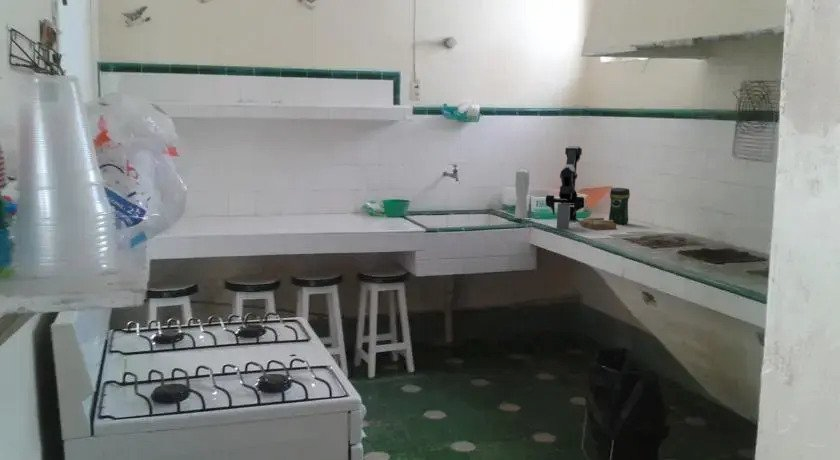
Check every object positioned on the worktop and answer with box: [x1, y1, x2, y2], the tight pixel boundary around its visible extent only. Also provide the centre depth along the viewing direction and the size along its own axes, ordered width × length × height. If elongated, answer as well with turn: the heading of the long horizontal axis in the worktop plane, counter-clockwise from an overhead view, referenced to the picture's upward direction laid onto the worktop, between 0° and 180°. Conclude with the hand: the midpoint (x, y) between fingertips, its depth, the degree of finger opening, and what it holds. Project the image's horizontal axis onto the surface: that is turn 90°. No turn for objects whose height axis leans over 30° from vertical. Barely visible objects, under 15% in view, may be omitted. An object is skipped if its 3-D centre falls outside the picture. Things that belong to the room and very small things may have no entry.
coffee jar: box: [608, 187, 631, 225], centre depth 396 cm, size 10×8×19 cm
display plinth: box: [579, 217, 617, 231], centre depth 381 cm, size 14×12×4 cm
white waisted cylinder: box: [513, 166, 532, 220], centre depth 403 cm, size 8×8×28 cm
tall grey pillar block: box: [556, 203, 570, 230], centre depth 375 cm, size 5×6×12 cm
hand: (563, 214), depth 374 cm, fingers open, 9 cm apart
